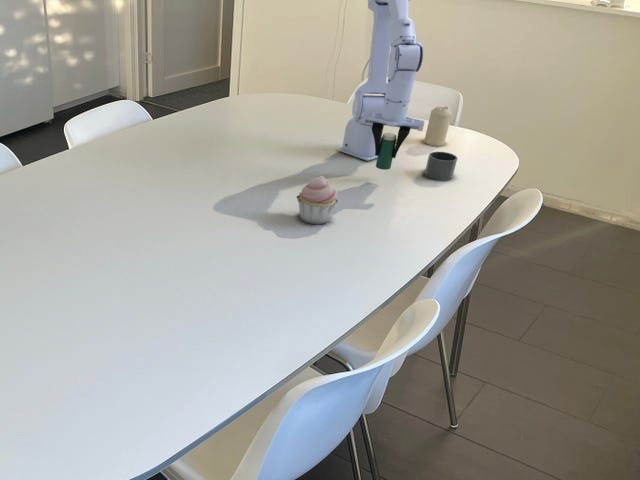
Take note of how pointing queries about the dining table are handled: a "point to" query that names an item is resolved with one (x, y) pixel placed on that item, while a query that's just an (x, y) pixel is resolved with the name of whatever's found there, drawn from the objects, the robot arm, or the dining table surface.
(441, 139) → the candle
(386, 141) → the cylinder
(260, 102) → the dining table surface
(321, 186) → the cupcake
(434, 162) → the cup
